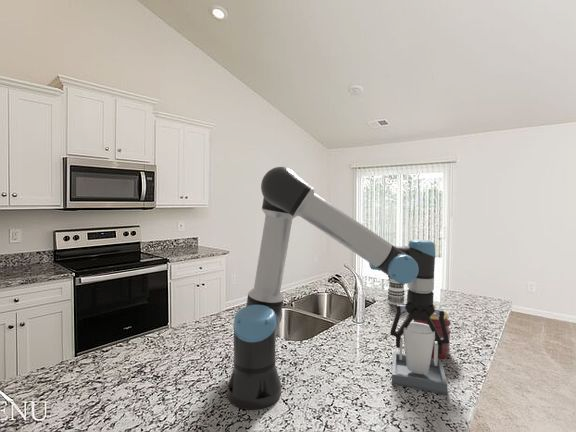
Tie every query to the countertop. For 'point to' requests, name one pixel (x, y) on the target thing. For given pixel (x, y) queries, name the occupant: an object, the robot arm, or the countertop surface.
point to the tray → (419, 376)
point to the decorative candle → (395, 292)
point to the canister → (438, 327)
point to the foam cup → (418, 347)
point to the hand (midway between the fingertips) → (417, 360)
